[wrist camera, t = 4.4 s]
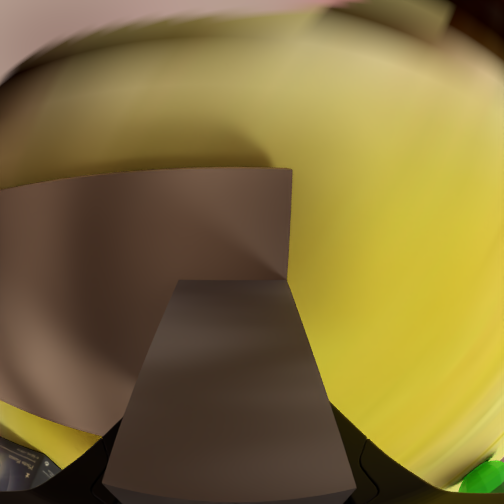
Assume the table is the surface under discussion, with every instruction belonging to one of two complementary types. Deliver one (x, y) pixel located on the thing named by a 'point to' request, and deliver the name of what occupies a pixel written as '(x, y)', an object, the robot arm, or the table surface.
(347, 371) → the table surface
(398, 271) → the table surface
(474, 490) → the plastic bottle
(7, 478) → the small box
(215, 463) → the walnut strip
